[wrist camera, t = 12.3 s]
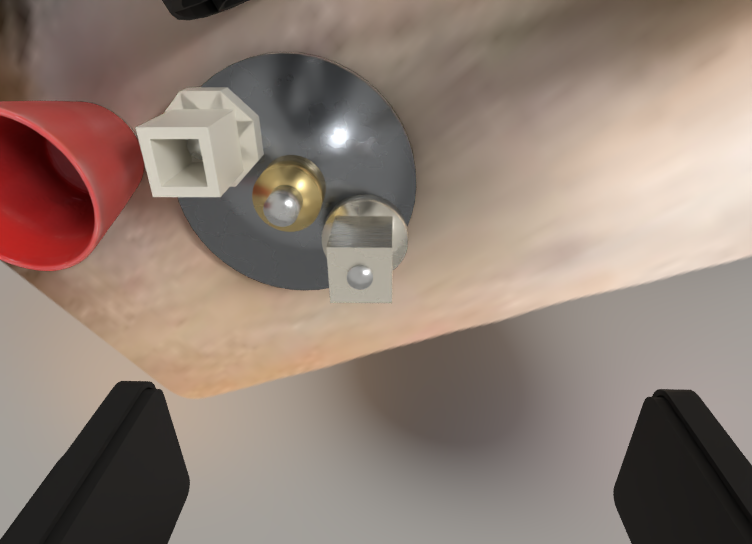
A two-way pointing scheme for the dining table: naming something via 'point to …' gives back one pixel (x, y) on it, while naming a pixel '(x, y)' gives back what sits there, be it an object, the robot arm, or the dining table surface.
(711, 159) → the dining table surface
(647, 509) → the robot arm
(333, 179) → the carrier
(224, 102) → the open ended square duct
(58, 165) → the flower pot
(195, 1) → the car wheel rim
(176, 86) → the dining table surface
